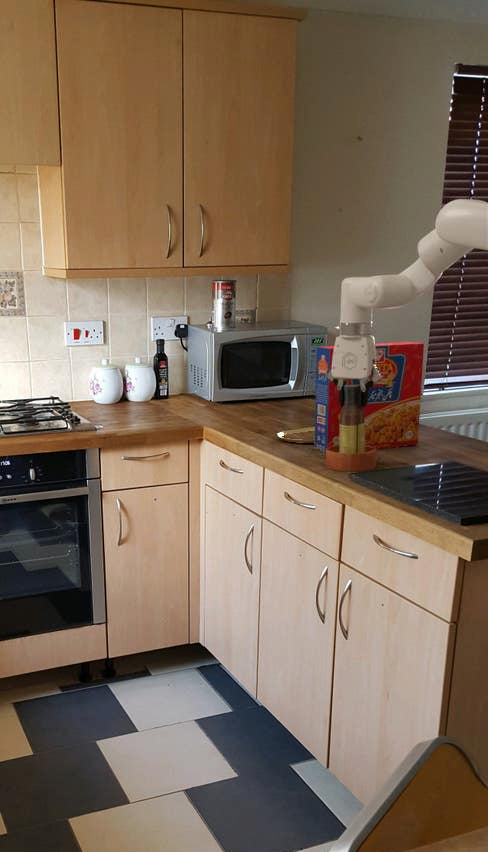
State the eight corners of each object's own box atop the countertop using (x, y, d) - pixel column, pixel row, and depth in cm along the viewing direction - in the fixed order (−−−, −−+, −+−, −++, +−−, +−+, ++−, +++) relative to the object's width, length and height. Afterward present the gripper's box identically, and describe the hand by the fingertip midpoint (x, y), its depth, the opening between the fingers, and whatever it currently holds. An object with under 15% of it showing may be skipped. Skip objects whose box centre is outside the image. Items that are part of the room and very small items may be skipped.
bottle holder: (384, 464, 224) (384, 446, 222) (362, 473, 214) (363, 455, 213) (339, 459, 231) (339, 442, 230) (316, 468, 222) (316, 450, 220)
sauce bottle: (358, 461, 226) (361, 382, 219) (368, 465, 220) (371, 385, 214) (334, 462, 225) (337, 384, 218) (343, 467, 219) (346, 386, 213)
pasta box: (326, 453, 240) (330, 348, 231) (314, 448, 247) (316, 346, 238) (417, 445, 247) (424, 343, 238) (402, 441, 254) (408, 341, 245)
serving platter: (394, 433, 265) (395, 428, 265) (304, 447, 249) (304, 442, 248) (352, 426, 281) (352, 421, 280) (264, 438, 264) (264, 433, 264)
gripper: (317, 331, 214) (315, 406, 220) (381, 331, 204) (378, 410, 210) (331, 329, 220) (329, 402, 226) (394, 329, 210) (391, 406, 216)
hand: (352, 405), depth 218 cm, fingers closed on sauce bottle, 4 cm apart
